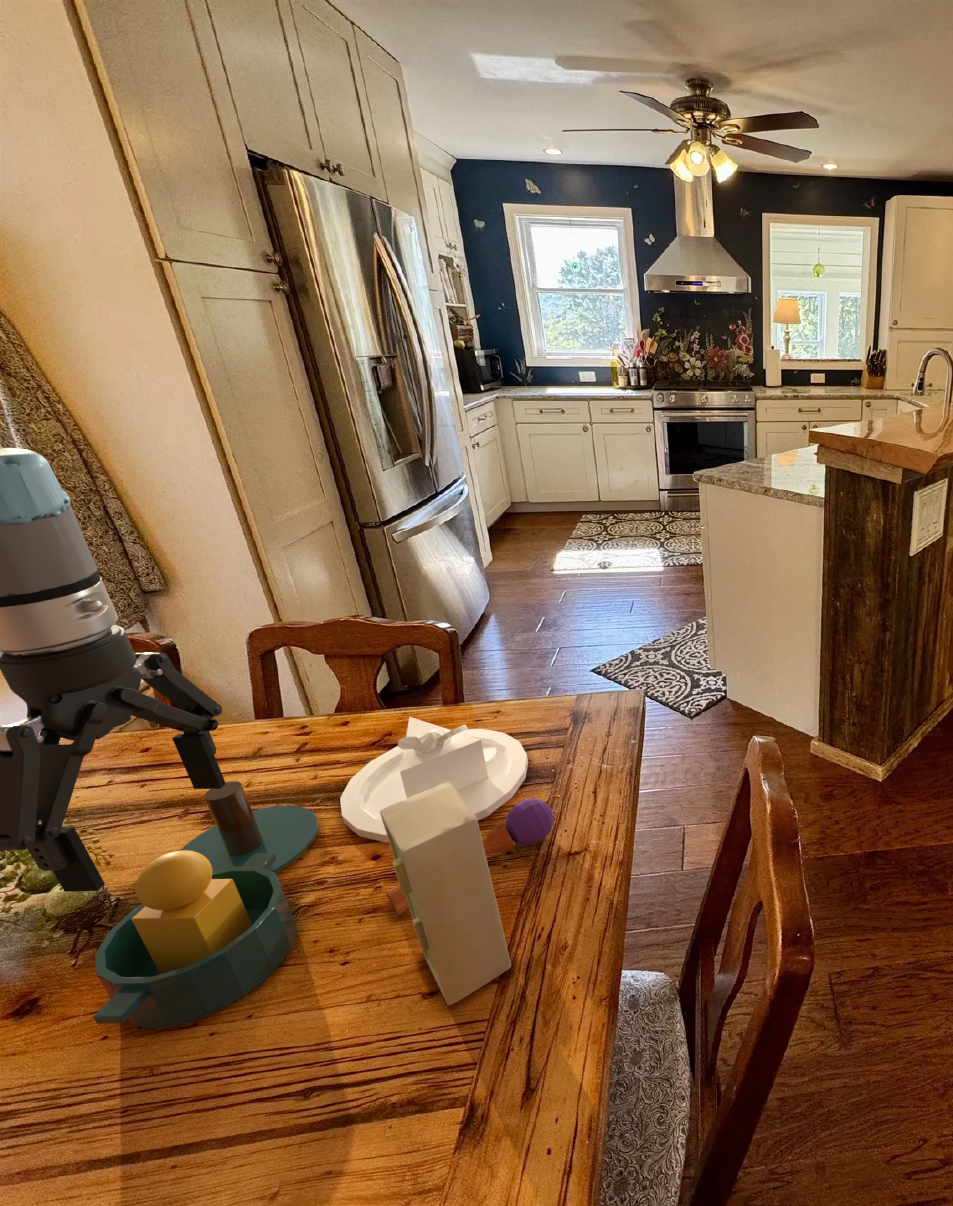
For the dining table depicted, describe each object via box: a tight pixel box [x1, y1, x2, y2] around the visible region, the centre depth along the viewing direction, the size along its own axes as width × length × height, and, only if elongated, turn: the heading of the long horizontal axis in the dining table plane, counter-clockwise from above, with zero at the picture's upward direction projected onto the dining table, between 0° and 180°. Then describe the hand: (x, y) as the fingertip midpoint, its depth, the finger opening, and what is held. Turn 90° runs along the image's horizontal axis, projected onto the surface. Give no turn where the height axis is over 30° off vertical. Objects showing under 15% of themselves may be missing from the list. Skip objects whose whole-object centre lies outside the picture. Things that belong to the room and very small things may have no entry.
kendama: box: [385, 798, 555, 917], centre depth 82 cm, size 6×6×20 cm
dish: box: [339, 716, 529, 843], centre depth 95 cm, size 25×25×11 cm
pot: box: [92, 853, 297, 1029], centre depth 68 cm, size 14×20×6 cm
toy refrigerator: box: [380, 782, 512, 1006], centre depth 66 cm, size 8×7×21 cm
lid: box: [179, 780, 320, 874], centre depth 82 cm, size 15×15×10 cm
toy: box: [132, 850, 252, 974], centre depth 67 cm, size 6×6×14 cm
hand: (154, 832), depth 62 cm, fingers open, 13 cm apart
